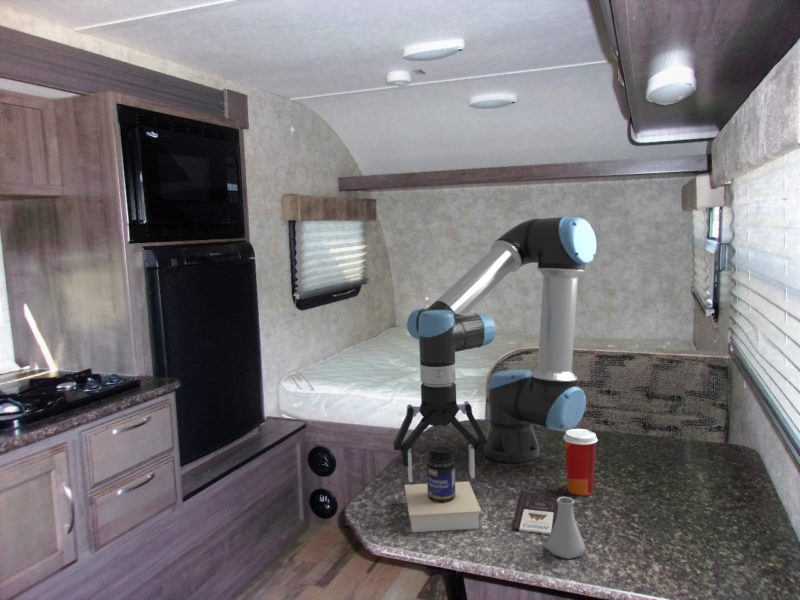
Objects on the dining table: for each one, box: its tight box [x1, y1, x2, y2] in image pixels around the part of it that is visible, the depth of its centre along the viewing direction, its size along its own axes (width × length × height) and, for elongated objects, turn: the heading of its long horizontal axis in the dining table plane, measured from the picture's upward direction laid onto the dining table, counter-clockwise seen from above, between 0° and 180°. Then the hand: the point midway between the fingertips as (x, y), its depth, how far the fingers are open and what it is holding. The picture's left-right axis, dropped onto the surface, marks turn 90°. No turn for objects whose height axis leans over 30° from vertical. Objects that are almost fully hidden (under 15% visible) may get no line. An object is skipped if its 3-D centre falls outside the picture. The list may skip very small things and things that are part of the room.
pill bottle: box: [426, 444, 456, 502], centre depth 129 cm, size 6×6×11 cm
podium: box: [404, 481, 482, 533], centre depth 130 cm, size 15×15×4 cm
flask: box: [545, 496, 587, 560], centre depth 114 cm, size 7×7×10 cm
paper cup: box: [563, 428, 599, 497], centre depth 139 cm, size 8×8×14 cm
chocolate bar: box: [512, 491, 563, 536], centre depth 130 cm, size 9×1×18 cm
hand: (441, 477), depth 130 cm, fingers open, 13 cm apart
